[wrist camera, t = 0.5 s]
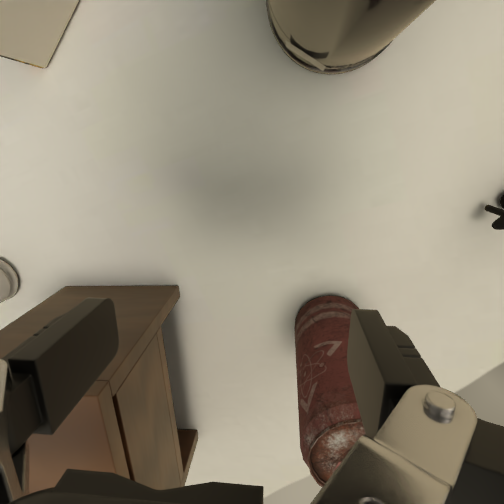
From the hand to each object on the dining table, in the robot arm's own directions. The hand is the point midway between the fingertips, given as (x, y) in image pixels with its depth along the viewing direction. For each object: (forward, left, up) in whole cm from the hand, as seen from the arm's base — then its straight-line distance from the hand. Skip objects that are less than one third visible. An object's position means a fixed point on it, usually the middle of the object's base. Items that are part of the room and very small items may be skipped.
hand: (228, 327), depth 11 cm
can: (+10, +6, -18) cm, 21 cm away
